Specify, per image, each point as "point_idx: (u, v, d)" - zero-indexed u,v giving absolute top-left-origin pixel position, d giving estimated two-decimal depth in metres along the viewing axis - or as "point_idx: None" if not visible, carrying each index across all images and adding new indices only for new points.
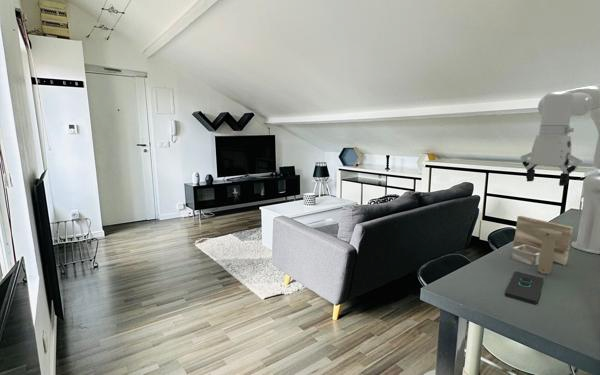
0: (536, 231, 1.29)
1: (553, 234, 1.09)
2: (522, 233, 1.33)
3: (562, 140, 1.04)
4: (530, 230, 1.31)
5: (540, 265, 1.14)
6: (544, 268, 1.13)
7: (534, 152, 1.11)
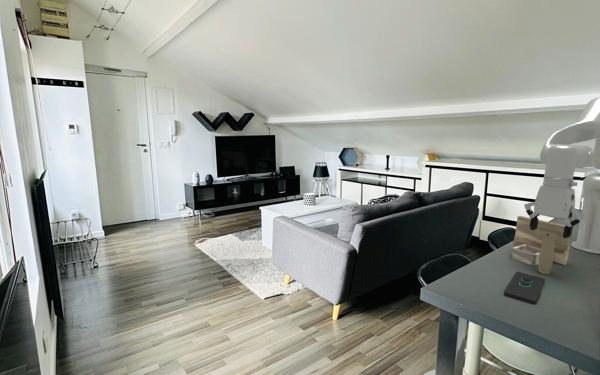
0: (536, 231, 1.29)
1: (553, 234, 1.09)
2: (522, 233, 1.33)
3: (566, 194, 1.05)
4: (530, 230, 1.31)
5: (540, 265, 1.14)
6: (544, 268, 1.13)
7: (538, 202, 1.12)
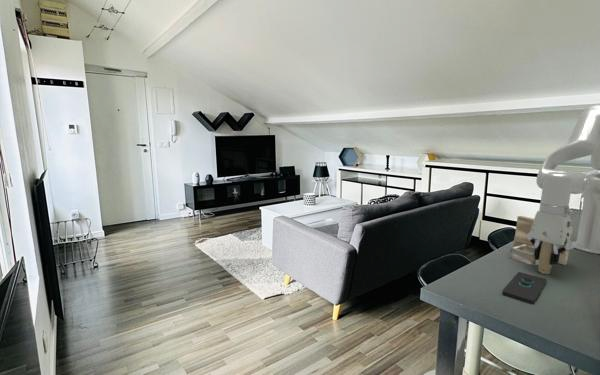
0: None
1: None
2: (522, 233, 1.33)
3: (561, 221, 1.07)
4: (530, 230, 1.31)
5: (540, 265, 1.14)
6: (544, 268, 1.13)
7: (534, 227, 1.14)
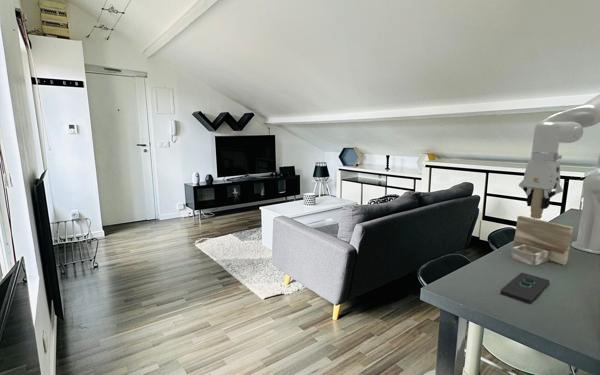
0: (536, 231, 1.29)
1: None
2: (522, 233, 1.33)
3: (551, 166, 1.15)
4: (530, 230, 1.31)
5: (532, 210, 1.22)
6: (536, 213, 1.21)
7: (526, 176, 1.22)
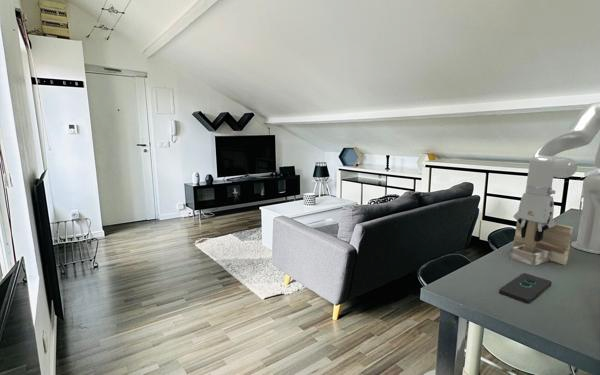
0: None
1: None
2: None
3: (545, 201, 1.18)
4: None
5: (526, 242, 1.24)
6: (529, 245, 1.24)
7: (521, 208, 1.25)
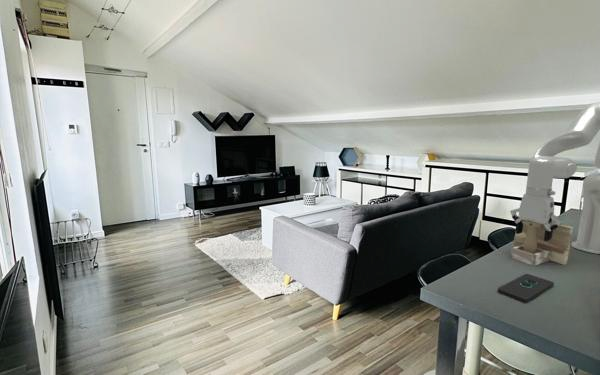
0: None
1: (536, 224, 1.21)
2: (522, 233, 1.33)
3: (545, 202, 1.18)
4: None
5: None
6: None
7: (521, 209, 1.25)
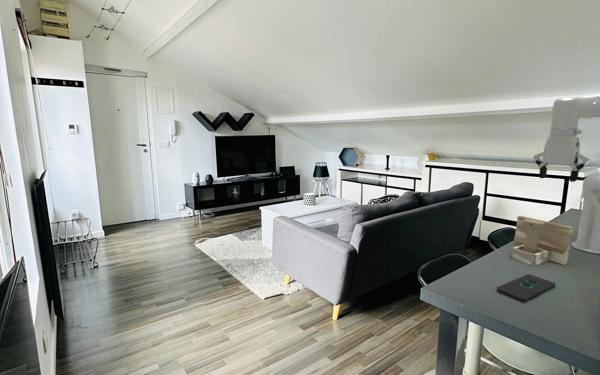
0: None
1: (536, 224, 1.21)
2: (522, 233, 1.33)
3: (571, 141, 1.17)
4: None
5: None
6: None
7: (546, 152, 1.24)
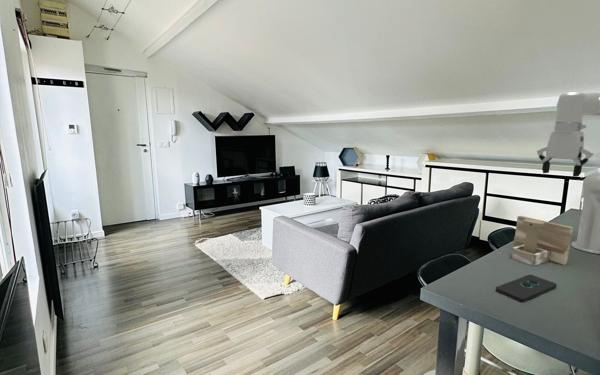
0: None
1: (536, 224, 1.21)
2: (522, 233, 1.33)
3: (575, 136, 1.17)
4: None
5: None
6: None
7: (549, 146, 1.24)
